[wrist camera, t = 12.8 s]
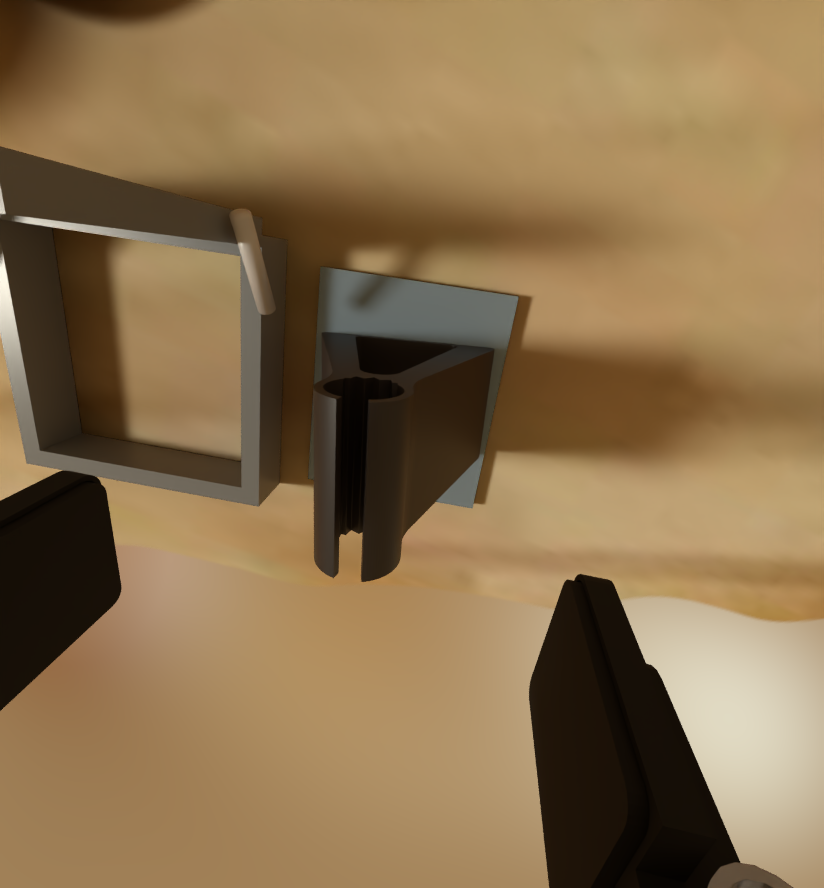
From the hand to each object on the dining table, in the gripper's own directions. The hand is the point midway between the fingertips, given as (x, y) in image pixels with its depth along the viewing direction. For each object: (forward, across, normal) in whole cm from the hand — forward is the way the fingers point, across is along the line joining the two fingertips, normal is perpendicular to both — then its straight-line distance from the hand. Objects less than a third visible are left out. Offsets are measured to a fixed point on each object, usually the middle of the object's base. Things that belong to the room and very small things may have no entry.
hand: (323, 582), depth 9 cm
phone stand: (+16, +1, +1) cm, 17 cm away
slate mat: (+17, +1, +1) cm, 17 cm away
